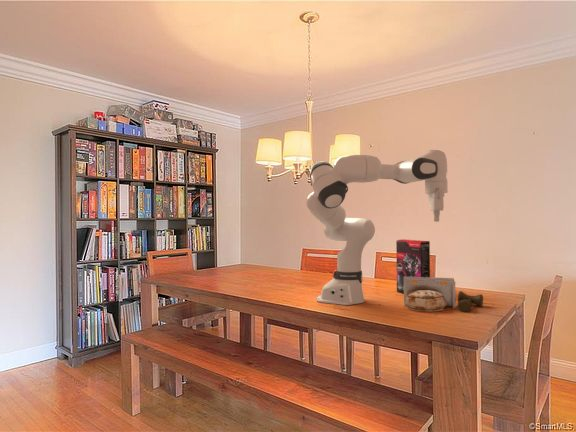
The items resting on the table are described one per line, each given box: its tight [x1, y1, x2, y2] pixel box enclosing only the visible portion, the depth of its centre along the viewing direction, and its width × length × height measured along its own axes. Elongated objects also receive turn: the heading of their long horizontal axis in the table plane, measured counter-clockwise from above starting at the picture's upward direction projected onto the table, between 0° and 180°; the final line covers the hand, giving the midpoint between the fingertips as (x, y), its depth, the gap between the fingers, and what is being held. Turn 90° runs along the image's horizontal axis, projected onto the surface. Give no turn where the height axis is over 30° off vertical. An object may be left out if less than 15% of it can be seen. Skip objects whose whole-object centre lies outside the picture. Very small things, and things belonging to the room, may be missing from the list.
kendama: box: [457, 290, 484, 313], centre depth 160 cm, size 6×10×20 cm
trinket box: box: [406, 290, 446, 312], centre depth 158 cm, size 13×15×8 cm
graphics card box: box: [395, 238, 431, 294], centre depth 186 cm, size 17×7×27 cm, turn 27°
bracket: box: [403, 276, 457, 309], centre depth 164 cm, size 21×6×12 cm, turn 73°
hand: (436, 221), depth 157 cm, fingers closed
